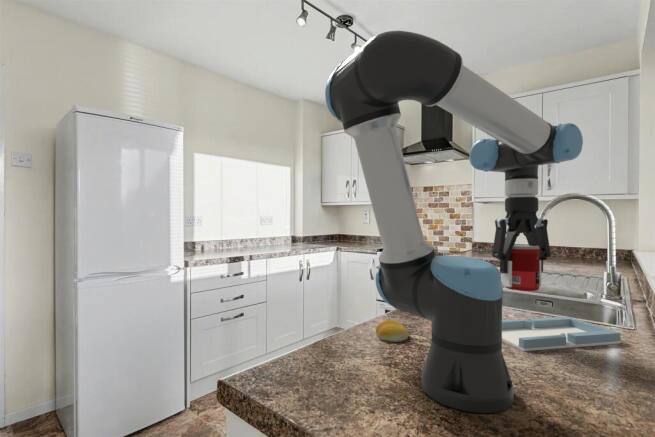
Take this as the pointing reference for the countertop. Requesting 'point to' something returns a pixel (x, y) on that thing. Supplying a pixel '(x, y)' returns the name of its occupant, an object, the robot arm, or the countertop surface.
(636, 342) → the countertop surface
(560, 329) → the track
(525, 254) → the canned food
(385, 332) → the bread roll
